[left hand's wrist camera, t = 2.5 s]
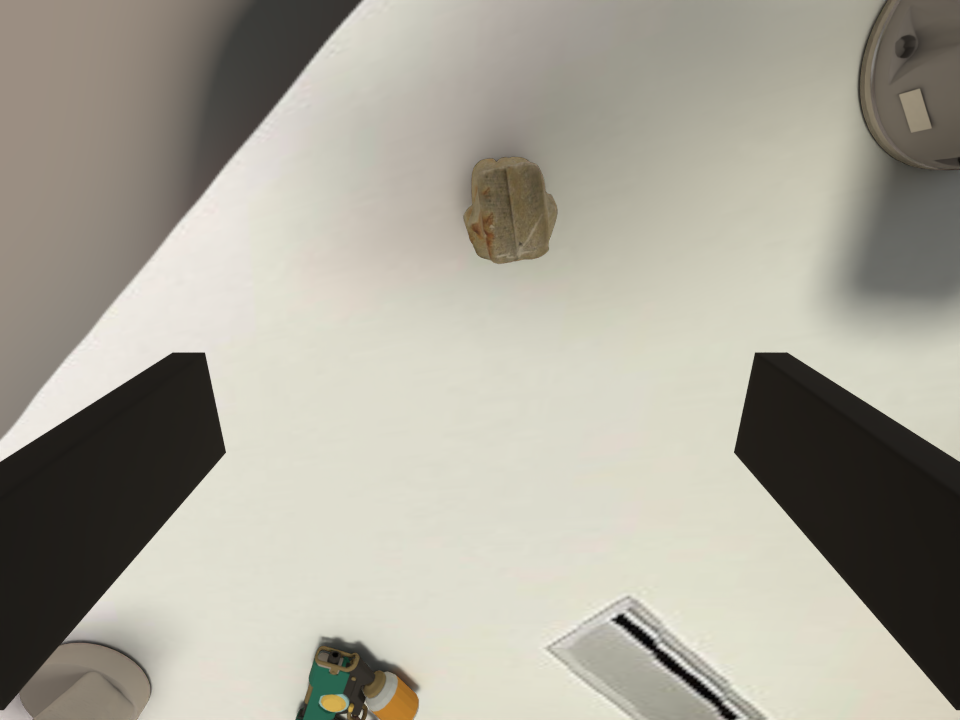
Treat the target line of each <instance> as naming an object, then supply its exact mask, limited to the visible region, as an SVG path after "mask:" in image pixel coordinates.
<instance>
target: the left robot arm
mask: <svg viewBox="0 0 960 720" xmlns="http://www.w3.org/2000/svg"><path fill="white" fill-rule="evenodd" d="M860 98H861V105H862V110H863V114H864V118H865V121H866V123H867V126H868V128H869V130H870V132H871V134H872V136H873V137H874V139H875V140H876V141H877V143H878V144H879V145H880V146H881V147H882V148H883V149H884V150H885V151H886V152H887V153H888V154H889V155H891V156H892V157H894V158H895V159H897V160H898V161H901V162H903V163H905V164H907V165H910V166H914V167H918V168H923V169H935V170H960V0H888V1H887V3H886V4H885V6H884V8H883V9H882V11H881V13H880V15H879V16H878V19H877V21H876V23H875V25H874V27H873V29H872V32H871V34H870V37H869V40H868V43H867V46H866V49H865V53H864V57H863V62H862V68H861V76H860ZM225 453H226V451H225V446H224V441H223V436H222V432H221V427H220V422H219V417H218V413H217V408H216V403H215V398H214V394H213V389H212V384H211V379H210V375H209V370H208V365H207V360H206V356H205V353H171V354H170V355H168V356H167V357H165V358H163V359H162V360H160V361H159V362H157V363H156V364H154V365H152V366H151V367H149V368H148V369H146V370H145V371H143V372H141V373H140V374H138V375H137V376H135V377H134V378H132V379H130V380H129V381H127V382H126V383H124V384H122V385H121V386H119V387H118V388H116V389H115V390H113V391H111V392H110V393H108V394H107V395H105V396H104V397H102V398H100V399H99V400H97V401H96V402H94V403H92V404H91V405H89V406H88V407H86V408H85V409H83V410H81V411H80V412H78V413H77V414H75V415H74V416H72V417H70V418H69V419H67V420H66V421H64V422H62V423H61V424H59V425H58V426H56V427H55V428H53V429H51V430H50V431H48V432H47V433H45V434H44V435H42V436H40V437H39V438H37V439H36V440H34V441H32V442H31V443H29V444H28V445H26V446H25V447H23V448H21V449H20V450H18V451H17V452H15V453H14V454H12V455H10V456H9V457H7V458H6V459H4V460H3V461H1V462H0V710H4V709H5V708H6V707H7V706H8V704H9V703H10V702H11V701H12V700H13V699H14V698H15V696H16V695H17V694H18V693H19V692H20V691H21V689H22V688H23V687H24V686H25V685H26V684H27V682H28V681H29V680H30V679H31V678H32V677H33V676H34V674H35V673H36V672H37V671H38V670H39V669H40V667H41V666H42V665H43V664H44V663H45V662H46V660H47V659H48V658H49V657H50V656H51V655H52V653H53V652H54V651H55V650H56V649H57V648H58V647H59V645H60V644H61V643H62V642H63V641H64V640H65V638H66V637H67V636H68V635H69V634H70V633H71V631H72V630H73V629H74V628H75V627H76V626H77V625H78V623H79V622H80V621H81V620H82V619H83V618H84V616H85V615H86V614H87V613H88V612H89V611H90V609H91V608H92V607H93V606H94V605H95V604H96V602H97V601H98V600H99V599H100V598H101V597H102V596H103V594H104V593H105V592H106V591H107V590H108V589H109V587H110V586H111V585H112V584H113V583H114V582H115V580H116V579H117V578H118V577H119V576H120V575H121V574H122V572H123V571H124V570H125V569H126V568H127V567H128V565H129V564H130V563H131V562H132V561H133V560H134V558H135V557H136V556H137V555H138V554H139V553H140V551H141V550H142V549H143V548H144V547H145V546H146V545H147V543H148V542H149V541H150V540H151V539H152V538H153V536H154V535H155V534H156V533H157V532H158V531H159V529H160V528H161V527H162V526H163V525H164V524H165V523H166V521H167V520H168V519H169V518H170V517H171V516H172V514H173V513H174V512H175V511H176V510H177V509H178V507H179V506H180V505H181V504H182V503H183V502H184V500H185V499H186V498H187V497H188V496H189V495H190V494H191V492H192V491H193V490H194V489H195V488H196V487H197V485H198V484H199V483H200V482H201V481H202V480H203V478H204V477H205V476H206V475H207V474H208V473H209V472H210V470H211V469H212V468H213V467H214V466H215V465H216V463H217V462H218V461H219V460H220V459H221V458H222V456H223V455H224V454H225ZM734 453H735V454H736V455H737V456H738V458H739V459H740V460H741V461H742V462H743V463H744V465H745V466H746V467H747V468H748V469H749V470H750V472H751V473H752V474H753V475H754V476H755V477H756V478H757V480H758V481H759V482H760V483H761V484H762V485H763V487H764V488H765V489H766V490H767V491H768V492H769V494H770V495H771V496H772V497H773V498H774V499H775V500H776V502H777V503H778V504H779V505H780V506H781V507H782V509H783V510H784V511H785V512H786V513H787V514H788V516H789V517H790V518H791V519H792V520H793V521H794V523H795V524H796V525H797V526H798V527H799V528H800V529H801V531H802V532H803V533H804V534H805V535H806V536H807V538H808V539H809V540H810V541H811V542H812V543H813V545H814V546H815V547H816V548H817V549H818V550H819V551H820V553H821V554H822V555H823V556H824V557H825V558H826V560H827V561H828V562H829V563H830V564H831V565H832V567H833V568H834V569H835V570H836V571H837V572H838V574H839V575H840V576H841V577H842V578H843V579H844V580H845V582H846V583H847V584H848V585H849V586H850V587H851V589H852V590H853V591H854V592H855V593H856V594H857V596H858V597H859V598H860V599H861V600H862V601H863V602H864V604H865V605H866V606H867V607H868V608H869V609H870V611H871V612H872V613H873V614H874V615H875V616H876V618H877V619H878V620H879V621H880V622H881V623H882V625H883V626H884V627H885V628H886V629H887V630H888V631H889V633H890V634H891V635H892V636H893V637H894V638H895V640H896V641H897V642H898V643H899V644H900V645H901V647H902V648H903V649H904V650H905V651H906V652H907V653H908V655H909V656H910V657H911V658H912V659H913V660H914V662H915V663H916V664H917V665H918V666H919V667H920V669H921V670H922V671H923V672H924V673H925V674H926V676H927V677H928V678H929V679H930V680H931V681H932V682H933V684H934V685H935V686H936V687H937V688H938V689H939V691H940V692H941V693H942V694H943V695H944V696H945V698H946V699H947V700H948V701H949V702H950V703H951V704H952V706H953V707H954V708H955V709H956V710H960V462H959V461H957V460H956V459H954V458H953V457H951V456H950V455H948V454H946V453H945V452H943V451H942V450H940V449H939V448H937V447H935V446H934V445H932V444H931V443H929V442H928V441H926V440H924V439H923V438H921V437H920V436H918V435H916V434H915V433H913V432H912V431H910V430H909V429H907V428H905V427H904V426H902V425H901V424H899V423H898V422H896V421H894V420H893V419H891V418H890V417H888V416H886V415H885V414H883V413H882V412H880V411H879V410H877V409H875V408H874V407H872V406H871V405H869V404H868V403H866V402H864V401H863V400H861V399H860V398H858V397H856V396H855V395H853V394H852V393H850V392H849V391H847V390H845V389H844V388H842V387H841V386H839V385H838V384H836V383H834V382H833V381H831V380H830V379H828V378H826V377H825V376H823V375H822V374H820V373H819V372H817V371H815V370H814V369H812V368H811V367H809V366H808V365H806V364H804V363H803V362H801V361H800V360H798V359H796V358H795V357H793V356H792V355H790V354H789V353H755V356H754V360H753V365H752V370H751V375H750V379H749V384H748V389H747V394H746V398H745V403H744V408H743V413H742V417H741V422H740V427H739V432H738V436H737V441H736V446H735V451H734Z"/></svg>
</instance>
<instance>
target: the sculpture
mask: <svg viewBox="0 0 960 720" xmlns="http://www.w3.org/2000/svg"><path fill="white" fill-rule="evenodd" d="M556 218H557V206H556V203H555V201H554V199H553V197H552V195H551V194H547V193H546V191H545V183H544V178H543V175H542V173H541V170H540V168H539V167H538V165H537V164H534V163H531V162H529V161H528V160H526V159H524V158H521V157H510V158H507V157H503V158H501V159H499V160H498V161H497V162H496V161H495V160H494V159H484V160H481V161H480V162H478V163H477V164H476V165H475V167H474V169H473V172H472V206H470V207H469V208H468V209H467V211H466V212H465V214H464V222H465V225H466V228H467V231H468V234H469V239H470V241H471V242H472V244H473V246H474V249H475V251H476V253H477V255H478V256H480V257H482V258H484V259H488V260H491V261H492V262H494V263H497V264H502V263H508V262H513V261H519V260H524V259H535V258H539V257H541V256H542V255H544V254H545V253H546V252H547V251H548V250H549V246H548V245H549V239H550V237H551V234H552V231H553V228H554V225H555V222H556Z"/></svg>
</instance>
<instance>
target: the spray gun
mask: <svg viewBox="0 0 960 720" xmlns="http://www.w3.org/2000/svg"><path fill="white" fill-rule="evenodd" d="M321 650H325V651H329V652H330V654H327V653H319V652H320V651H321ZM343 656H345V657H344V658H342V657H343ZM348 657H350V658H353V657H355V659H352V660H351V661H349V659H348ZM359 657H360V656H359V655H358V654H357V653H352V654H350V653H347V652H343V651H340V650H337V649H333V648H330V647H326V646H321V647H319V649H318V650H317V653H316V655H315V658H314V662H313V665H312V668H311V671H310V675H309V682H310V684H309V687H308V690H307V694H306V697H305V706H304V708H302V709H300V711H299V712H298V714H297V717H296V720H340V718H337V717H336V716H335V714H346V713H347V719H348V720H365V719H366V716H367V706H366V705H365V704H364V702H365V696H366V703H367V705H368V707H369V709H370V710H371V711H372V712H373V713H374V714H375V715H376V716H377V717H378V718H379V719H380V720H414V718H415V717H416V714H417V712H418V708H419V699H418V697H417V695H416V694H415V693H414V692H413V691H412V690H411V689H410V688H409V687H408V686H407V685H406V684H405V683H404V682H403V681H402V680H401V679H400V678H399V677H397V676H396V675H395V674H393V673H390V672H382V671H376V672H373V671H372V670H371V669H370V668H369V667H368V665H367V664H366V663H365V662H364V661H363V660H362V659H361V658H359ZM362 685H364V690H363V692H364V694H363V692H362V690H361V686H362ZM362 709H363V710H364V711H363V715H362V718H361V719H360V718H359V717H358V716H359V715H360V712H361V710H362ZM351 714H352V716H351Z"/></svg>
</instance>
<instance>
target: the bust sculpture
mask: <svg viewBox="0 0 960 720" xmlns="http://www.w3.org/2000/svg"><path fill="white" fill-rule="evenodd" d="M149 697H150V684H149V681H148V679H147V677H146V675H145V674H144V672H143V671H142V670H141V668H140V667H139V666H138V665H137V664H136V663H135V662H133V661H132V660H131V659H129V658H128V657H126V656H125V655H123V654H121V653H119V652H117V651H115V650H113V649H110V648H107V647H104V646H100V645H96V644H90V643H69V644H64V645H60V646H59V647H58V648H57V649H56V650H55V651H54V652H53V653H52V655H51V656H50V657H49V658H48V659H47V660H46V662H45V663H44V664H43V665H42V666H41V667H40V669H39V670H38V671H37V672H36V673H35V674H34V676H33V677H32V678H31V679H30V680H29V681H28V682H27V684H26V685H25V686H24V687H23V688H22V689H21V691H20V698H21V701H22V704H23V706H24V707H25V709H26V710H27V712H28V713H29V714H30V715H31V716H32V717H33V718H34V719H33V720H137V719H138V717H139V715H140V714H141V712H142V710H143V709H144V707H145V705H146V704H147V702H148V700H149Z"/></svg>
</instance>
